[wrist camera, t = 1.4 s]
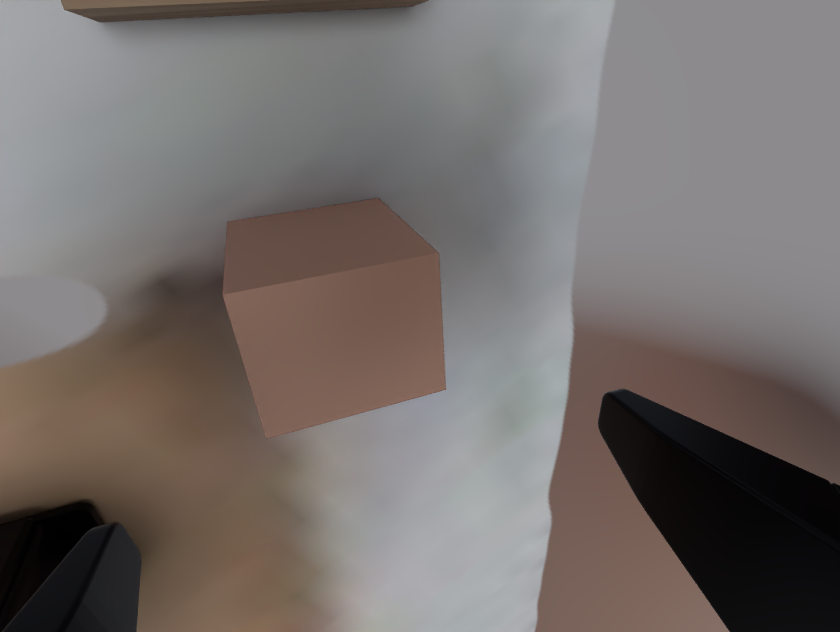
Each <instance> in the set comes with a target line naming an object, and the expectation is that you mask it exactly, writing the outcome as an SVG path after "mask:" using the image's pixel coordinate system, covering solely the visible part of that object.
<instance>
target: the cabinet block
mask: <svg viewBox="0 0 840 632" xmlns="http://www.w3.org/2000/svg"><path fill="white" fill-rule="evenodd" d="M223 298H224V301H225V305H226V308H227V311H228V315H229V318H230V321H231V324H232V328H233V331H234V334H235V338H236V341H237V344H238V347H239V351H240V354H241V357H242V361H243V364H244V367H245V370H246V374H247V377H248V380H249V384H250V387H251V390H252V394H253V397H254V400H255V403H256V407H257V410H258V413H259V417H260V420H261V423H262V426H263V430H264V433H265V436H266V439H268V438H272V437H275V436H279V435H283V434H286V433H290V432H294V431H297V430H301V429H304V428H308V427H312V426H315V425H319V424H323V423H326V422H330V421H334V420H337V419H341V418H345V417H348V416H352V415H355V414H359V413H363V412H366V411H370V410H374V409H377V408H381V407H385V406H388V405H392V404H396V403H399V402H403V401H406V400H410V399H414V398H417V397H421V396H425V395H428V394H432V393H436V392H439V391H443V390H446V381H445V362H444V342H443V323H442V304H441V284H440V265H439V253H438V252H437V251H436V250H435V249H434V248H433V247H432V246H431V245H430V244H428V243H427V242H426V241H425V240H424V239H423V238H422V237H421V236H420V235H419V234H417V233H416V232H415V231H414V230H413V229H412V228H411V227H410V226H409V225H408V224H406V223H405V222H404V221H403V220H402V219H401V218H400V217H399V216H398V215H397V214H395V213H394V212H393V211H392V210H391V209H390V208H389V207H388V206H387V205H386V204H384V203H383V202H382V201H381V200H380V199H379V198H376V199H370V200H363V201H357V202H351V203H344V204H338V205H331V206H325V207H319V208H312V209H306V210H299V211H293V212H286V213H280V214H274V215H267V216H261V217H254V218H248V219H242V220H235V221H229V222H227V233H226V248H225V264H224V280H223Z"/></svg>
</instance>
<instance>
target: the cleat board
mask: <svg viewBox="0 0 840 632" xmlns="http://www.w3.org/2000/svg"><path fill="white" fill-rule="evenodd" d="M425 1H428V0H61V2H62V5H63V8H64V10H67V11H70V12H73V13H75V14H78V15H81V16H84V17H87V18H90V19H92V20H95V21H98V22H113V21H133V20H152V19H172V18H192V17H211V16H231V15H251V14H271V13H290V12H310V11H330V10H350V9H369V8H389V7H409V6H414V5H417V4H420V3H422V2H425Z"/></svg>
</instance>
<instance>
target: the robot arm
mask: <svg viewBox="0 0 840 632" xmlns="http://www.w3.org/2000/svg"><path fill="white" fill-rule="evenodd" d="M598 427H599V430H600V433H601V435H602V437H603V439H604V441H605V442H606V444H607V446H608V448H609V449H610V451H611V453H612V455H613V457H614V458H615V460H616V462H617V464H618V466H619V467H620V469H621V471H622V473H623V475H624V476H625V478H626V480H627V481H628V483H629V485H630V487H631V489H632V490H633V492H634V494H635V495H636V497H637V499H638V500H639V502H640V503H641V505H642V506H643V508H644V509H645V511H646V512H647V514H648V515H649V517H650V518H651V519H652V521H653V522H654V524H655V525H656V527H657V528H658V529H659V531H660V532H661V534H662V535H663V537H664V538H665V540H666V541H667V542H668V544H669V545H670V547H671V548H672V550H673V551H674V552H675V554H676V555H677V557H678V558H679V560H680V561H681V563H682V564H683V565H684V567H685V568H686V570H687V571H688V572H689V574H690V575H691V577H692V578H693V580H694V581H695V582H696V584H697V585H698V587H699V588H700V590H701V591H702V593H703V594H704V595H705V597H706V598H707V600H708V601H709V602H710V604H711V606H712V607H713V608H714V610H715V611H716V613H717V614H718V615H719V617H720V618H721V620H722V621H723V623H724V624H725V626H726V627H727V628H728V630H729V631H730V632H840V486H839V485H837V484H835V483H832V484H831V483H830V482H829V481H828V480H826V479H824V478H821V477H819V476H817V475H815V474H813V473H810V472H808V471H806V470H804V469H802V468H799V467H797V466H795V465H793V464H791V463H788V462H786V461H784V460H782V459H779V458H777V457H775V456H773V455H771V454H768V453H766V452H764V451H762V450H760V449H757V448H755V447H753V446H751V445H749V444H746V443H744V442H742V441H739V440H737V439H735V438H733V437H731V436H728V435H726V434H724V433H722V432H720V431H718V430H715V429H713V428H711V427H709V426H706V425H704V424H702V423H700V422H698V421H695V420H693V419H691V418H689V417H686V416H684V415H682V414H680V413H678V412H675V411H673V410H671V409H669V408H666V407H664V406H662V405H660V404H658V403H655V402H653V401H651V400H649V399H647V398H644V397H642V396H640V395H638V394H636V393H633V392H631V391H629V390H626V389H618V390H614V391H610V392H607V393H605V394H604V396H603V398H602V402H601V408H600V413H599V419H598ZM78 514H84V515H78ZM140 573H141V556H140V552H139V549H138V547H137V546H136V544H135V543H134V541H133V540H132V538H131V537H130V535H129V534H128V532H127V531H126V530H125V528H124V527H123V525H122V524H120V523H118V522H113V523H109V524H105V525H104V523H103V522H102V520H101V518H100V517H99V515H98V513H97V512H96V510H95V508H94V507H93V506H92V505H91V504H88V503H83V502H82V503H76V504H72V505H69V506H65V507H62V508H58V509H54V510H51V511H47V512H44V513H40V514H37V515H33V516H29V517H26V518H22V519H19V520H15V521H12V522H8V523H4V524H1V525H0V632H136V629H137V615H138V601H139V587H140Z"/></svg>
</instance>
